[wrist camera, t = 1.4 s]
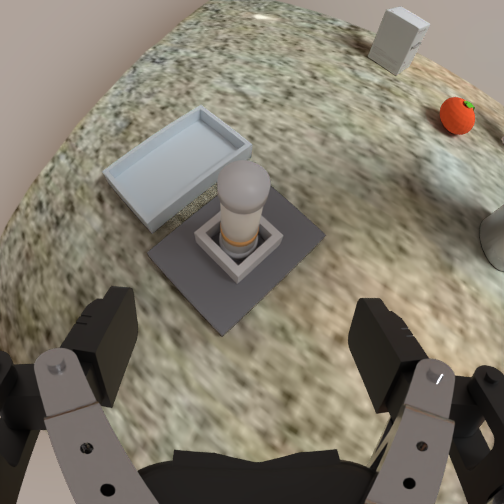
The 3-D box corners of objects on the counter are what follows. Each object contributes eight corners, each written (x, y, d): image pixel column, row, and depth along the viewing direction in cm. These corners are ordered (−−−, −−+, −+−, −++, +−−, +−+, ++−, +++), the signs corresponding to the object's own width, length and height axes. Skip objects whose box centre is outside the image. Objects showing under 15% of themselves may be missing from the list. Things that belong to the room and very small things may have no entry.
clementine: (451, 112, 50) (467, 88, 44) (471, 139, 48) (490, 116, 41) (426, 114, 49) (443, 88, 42) (448, 144, 46) (468, 118, 40)
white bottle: (238, 220, 36) (244, 152, 25) (264, 244, 35) (281, 182, 24) (211, 242, 35) (206, 179, 24) (237, 268, 34) (243, 214, 23)
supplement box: (396, 77, 52) (419, 29, 40) (366, 56, 53) (384, 8, 42) (409, 67, 54) (431, 24, 42) (381, 49, 56) (400, 4, 44)
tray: (201, 117, 43) (200, 104, 41) (251, 157, 41) (252, 144, 39) (108, 182, 38) (102, 171, 36) (151, 233, 36) (147, 223, 34)
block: (250, 174, 40) (253, 156, 37) (323, 239, 38) (332, 225, 34) (149, 256, 35) (141, 244, 32) (222, 336, 33) (221, 332, 29)
